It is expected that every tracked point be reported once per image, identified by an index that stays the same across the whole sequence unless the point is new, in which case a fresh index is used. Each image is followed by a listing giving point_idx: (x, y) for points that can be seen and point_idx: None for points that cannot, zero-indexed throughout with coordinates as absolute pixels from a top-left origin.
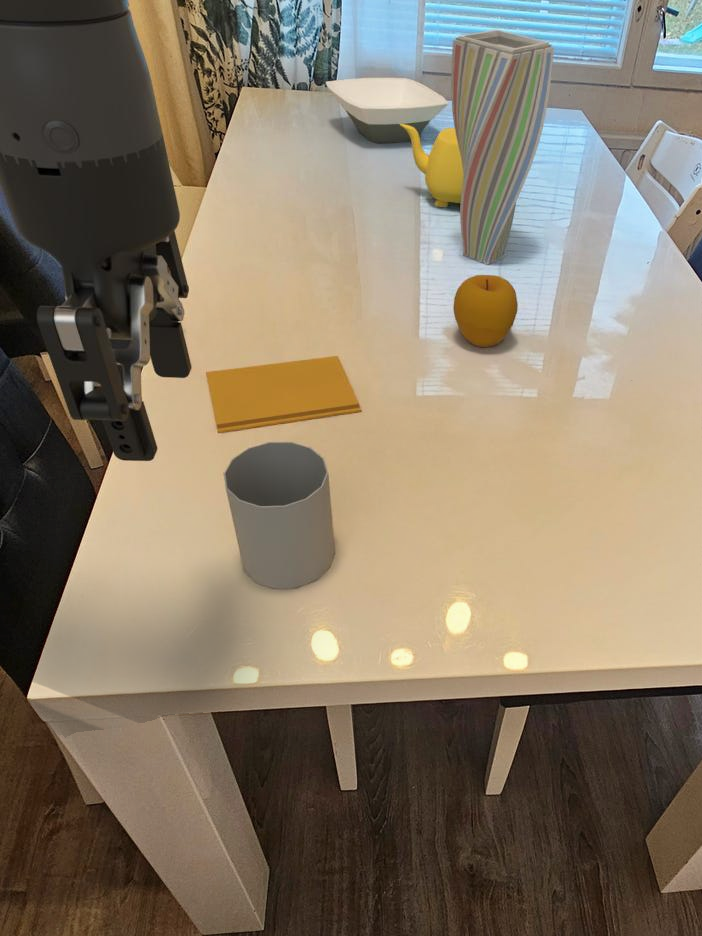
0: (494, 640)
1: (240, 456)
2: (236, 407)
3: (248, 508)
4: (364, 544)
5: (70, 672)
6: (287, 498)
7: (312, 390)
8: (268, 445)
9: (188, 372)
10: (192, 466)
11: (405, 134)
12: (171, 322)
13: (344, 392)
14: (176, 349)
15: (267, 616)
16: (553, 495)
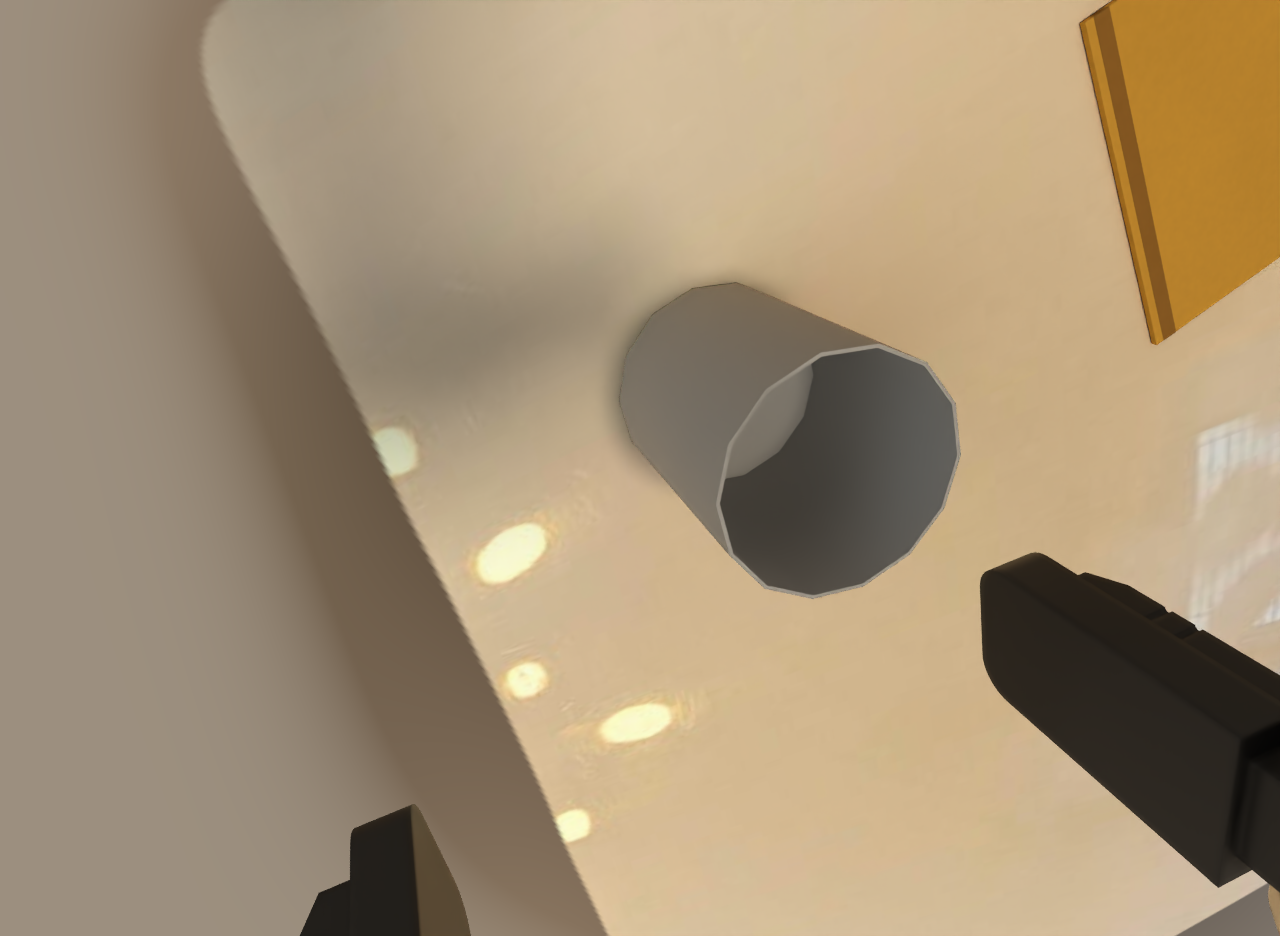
0: (603, 786)
1: (895, 354)
2: (1173, 30)
3: (714, 464)
4: None
5: (249, 60)
6: (843, 371)
7: (1226, 203)
8: (945, 400)
9: (1004, 696)
10: (956, 13)
11: None
12: (1260, 871)
13: (1215, 282)
14: (1102, 757)
15: (546, 420)
16: (935, 751)
